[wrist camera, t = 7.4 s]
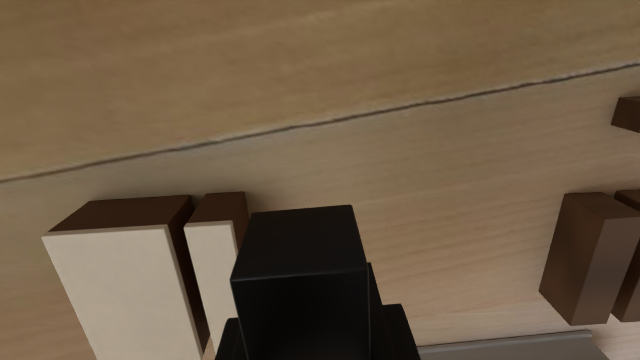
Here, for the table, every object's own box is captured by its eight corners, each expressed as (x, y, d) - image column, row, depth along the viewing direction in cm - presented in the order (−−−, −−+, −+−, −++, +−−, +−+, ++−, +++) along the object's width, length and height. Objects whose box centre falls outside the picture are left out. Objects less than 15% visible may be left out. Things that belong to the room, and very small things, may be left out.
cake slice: (205, 193, 25) (182, 227, 21) (244, 191, 25) (230, 224, 21) (230, 311, 30) (216, 360, 25) (263, 309, 30) (255, 357, 25)
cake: (89, 200, 25) (40, 236, 21) (190, 194, 25) (163, 228, 21) (132, 317, 30) (100, 368, 25) (217, 312, 30) (201, 361, 25)
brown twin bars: (589, 99, 23) (642, 110, 20) (689, 93, 23) (760, 103, 20) (538, 291, 30) (570, 326, 26) (615, 286, 30) (657, 320, 27)
